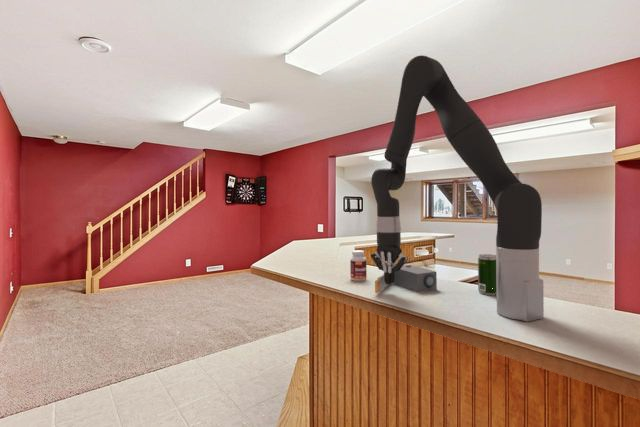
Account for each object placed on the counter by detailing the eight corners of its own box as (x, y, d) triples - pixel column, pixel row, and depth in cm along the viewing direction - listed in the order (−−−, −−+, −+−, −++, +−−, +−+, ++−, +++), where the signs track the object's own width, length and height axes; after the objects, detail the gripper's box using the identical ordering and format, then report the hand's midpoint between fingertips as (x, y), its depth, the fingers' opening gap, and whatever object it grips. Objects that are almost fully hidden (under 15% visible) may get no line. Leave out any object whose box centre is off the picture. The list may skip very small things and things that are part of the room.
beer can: (491, 296, 96) (491, 257, 96) (474, 292, 101) (474, 255, 100) (500, 293, 99) (500, 255, 99) (484, 289, 104) (483, 253, 103)
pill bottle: (355, 282, 118) (354, 252, 118) (347, 278, 124) (347, 250, 123) (369, 280, 120) (369, 251, 120) (361, 277, 126) (361, 249, 126)
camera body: (437, 289, 105) (437, 270, 105) (418, 292, 102) (418, 272, 102) (409, 280, 118) (409, 263, 118) (391, 282, 115) (391, 265, 115)
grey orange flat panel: (377, 294, 100) (377, 280, 100) (373, 294, 100) (372, 279, 100) (391, 281, 115) (391, 269, 115) (388, 281, 116) (387, 269, 116)
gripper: (364, 230, 103) (365, 283, 104) (401, 232, 95) (402, 289, 95) (376, 228, 109) (377, 278, 109) (412, 230, 100) (413, 284, 101)
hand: (389, 283), depth 102 cm, fingers closed
